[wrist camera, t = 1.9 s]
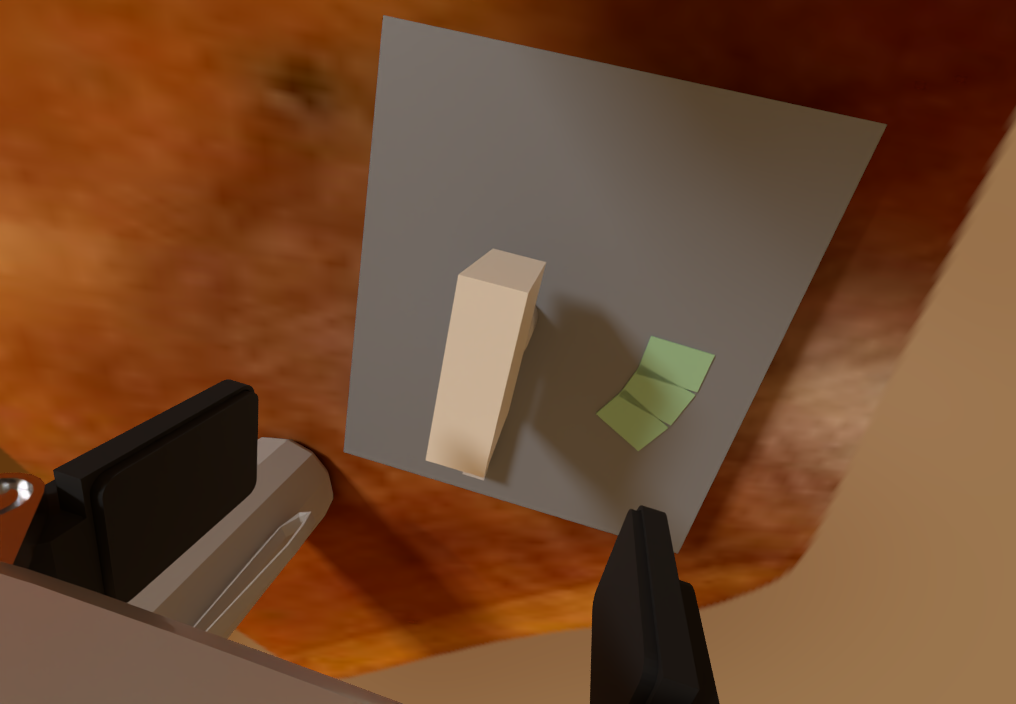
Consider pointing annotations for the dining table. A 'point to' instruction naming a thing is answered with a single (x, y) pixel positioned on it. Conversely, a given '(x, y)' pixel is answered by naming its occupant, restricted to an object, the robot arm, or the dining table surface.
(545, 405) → the grey square board
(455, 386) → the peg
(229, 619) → the water bottle
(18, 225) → the dining table surface
